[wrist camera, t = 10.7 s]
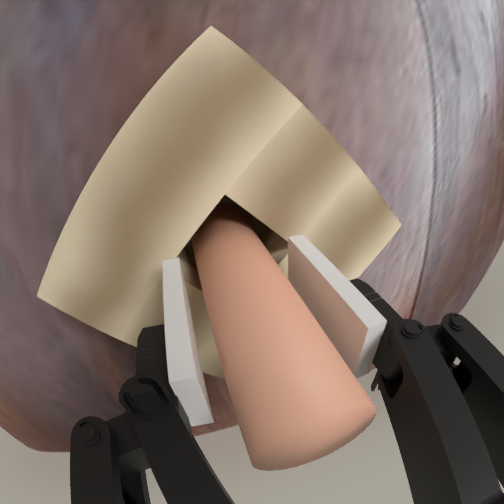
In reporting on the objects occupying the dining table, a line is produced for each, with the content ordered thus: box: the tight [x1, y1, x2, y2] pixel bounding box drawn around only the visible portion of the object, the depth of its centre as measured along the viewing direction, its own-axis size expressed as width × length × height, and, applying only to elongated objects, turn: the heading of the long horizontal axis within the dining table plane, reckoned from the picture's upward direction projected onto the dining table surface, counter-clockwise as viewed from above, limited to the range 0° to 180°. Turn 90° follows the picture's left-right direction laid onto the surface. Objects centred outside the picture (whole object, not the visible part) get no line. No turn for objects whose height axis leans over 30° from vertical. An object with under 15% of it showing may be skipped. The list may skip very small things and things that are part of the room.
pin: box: [191, 204, 377, 471], centre depth 12 cm, size 4×4×14 cm
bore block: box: [37, 26, 401, 379], centre depth 17 cm, size 16×16×6 cm
